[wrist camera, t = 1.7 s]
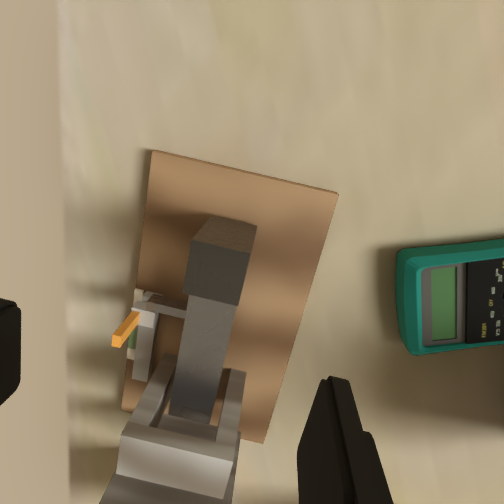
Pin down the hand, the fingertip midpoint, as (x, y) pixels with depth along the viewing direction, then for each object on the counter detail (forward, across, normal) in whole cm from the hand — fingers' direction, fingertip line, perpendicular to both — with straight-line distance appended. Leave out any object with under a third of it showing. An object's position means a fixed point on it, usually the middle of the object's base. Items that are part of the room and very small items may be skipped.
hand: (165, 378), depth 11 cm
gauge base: (+15, 0, +6) cm, 16 cm away
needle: (+13, +5, +6) cm, 15 cm away
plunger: (+13, +1, +5) cm, 14 cm away
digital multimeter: (+16, -19, -2) cm, 25 cm away
